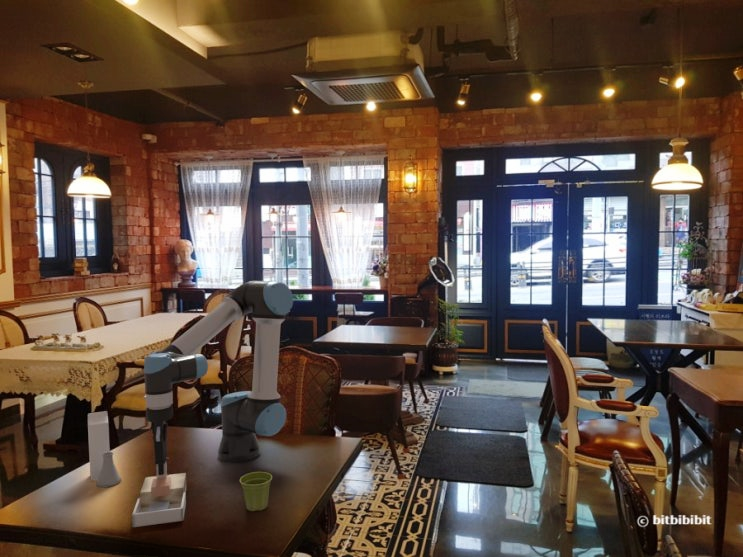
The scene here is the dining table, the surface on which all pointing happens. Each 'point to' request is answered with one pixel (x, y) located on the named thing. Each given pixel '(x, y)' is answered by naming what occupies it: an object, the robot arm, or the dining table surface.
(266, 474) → the plant pot
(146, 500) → the cream square tray
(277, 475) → the dining table surface
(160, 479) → the terracotta tile
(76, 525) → the dining table surface
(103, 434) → the milk
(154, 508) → the slate tile
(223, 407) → the robot arm
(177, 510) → the box
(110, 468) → the flask
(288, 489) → the dining table surface
